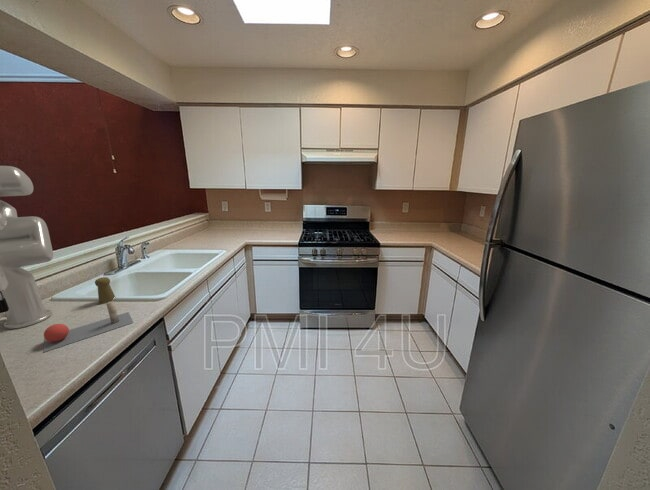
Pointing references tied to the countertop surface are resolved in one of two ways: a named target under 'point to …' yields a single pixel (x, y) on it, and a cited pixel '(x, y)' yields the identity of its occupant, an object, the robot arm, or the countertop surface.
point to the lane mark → (89, 331)
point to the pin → (112, 312)
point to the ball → (56, 332)
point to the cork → (104, 290)
